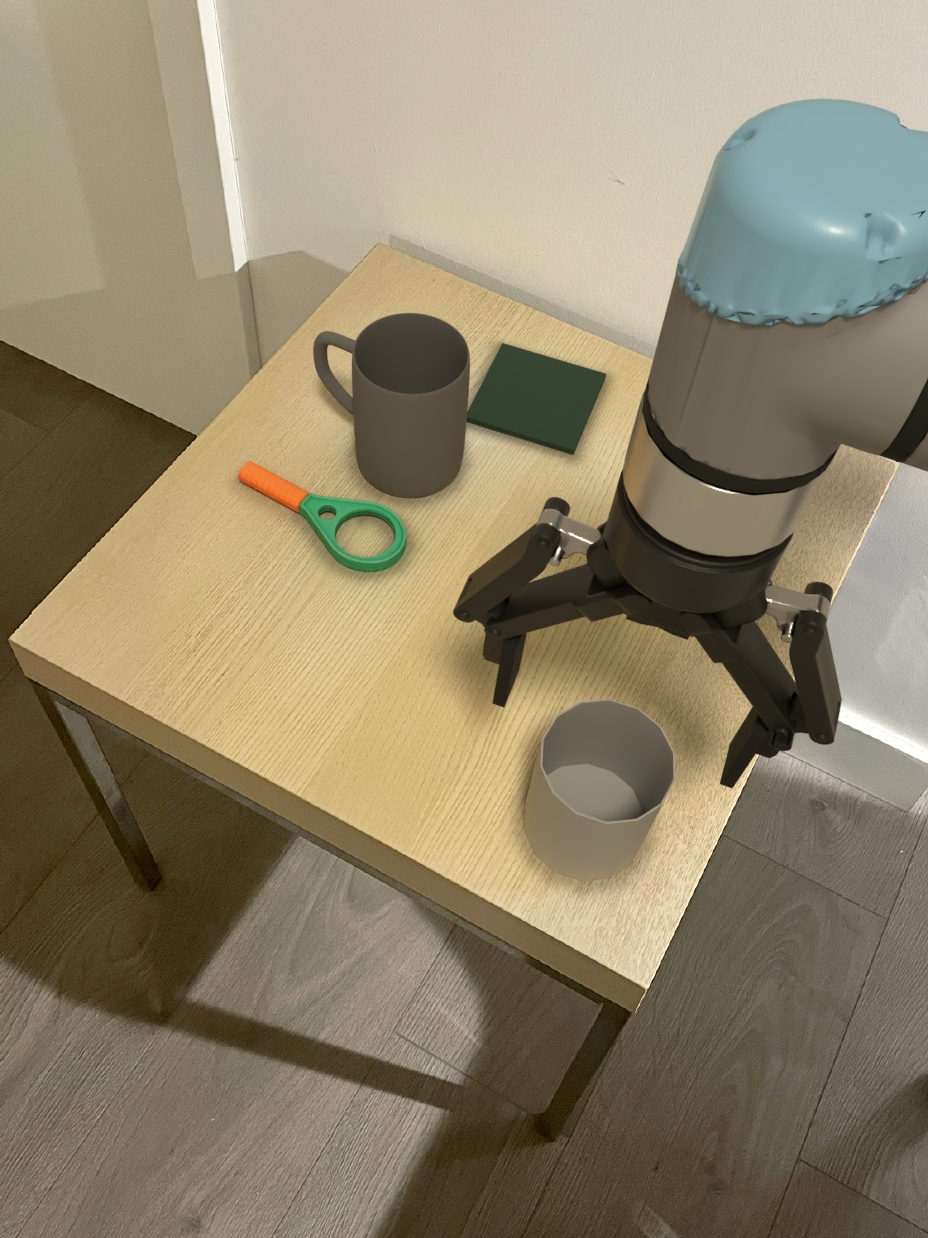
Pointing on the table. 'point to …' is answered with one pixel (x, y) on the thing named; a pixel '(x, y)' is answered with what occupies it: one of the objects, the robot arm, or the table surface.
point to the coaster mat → (536, 398)
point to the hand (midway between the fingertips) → (616, 726)
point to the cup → (597, 788)
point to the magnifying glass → (327, 529)
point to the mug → (404, 400)
